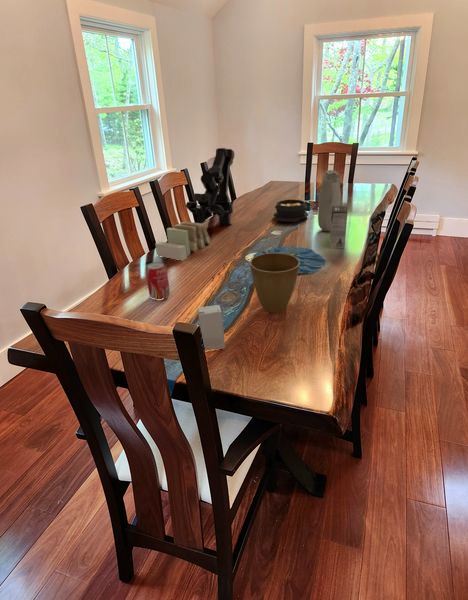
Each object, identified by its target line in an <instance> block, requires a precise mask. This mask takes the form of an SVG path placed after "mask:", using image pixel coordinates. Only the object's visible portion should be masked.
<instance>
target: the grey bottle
mask: <svg viewBox="0 0 468 600" xmlns="http://www.w3.org/2000/svg"><path fill="white" fill-rule="evenodd" d="M317 205H318V206H317V207H318V208H317V209H318V210H317V211H318V213H317V224H318V227H319V228H320V229H321V230H322V231H324V232H330V231H331V214H332V206H341V205H342V193H341V185H340V175H339V172H338V171H337V170H333V169H329V170H327V171H325V172H324V174H323V175H322V182H321V187H320V191H319V195H318V204H317Z"/></svg>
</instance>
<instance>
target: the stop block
mask: <svg viewBox="0 0 468 600" xmlns="http://www.w3.org/2000/svg"><path fill="white" fill-rule="evenodd" d="M155 251H156V256H157V255H158V256H162V257H166V258H171V259H176V260H181V261H183V260H185V259H187V260H188V256H187V255H186V246H183V245H178V244H172V243H168V242H165V241H157V242H156V243H155ZM166 258H165V259H166ZM171 259H170V260H171ZM176 260H175V261H176ZM181 261H180V262H181ZM185 261H186V260H185ZM183 262H184V261H183Z"/></svg>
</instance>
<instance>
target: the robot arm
mask: <svg viewBox="0 0 468 600" xmlns="http://www.w3.org/2000/svg"><path fill="white" fill-rule="evenodd" d="M215 149H216V150H215V155H214V160H213V162H212V166H211V167H210V168H208V169H207V170H206V171H205V172H204V173H203V174H202V175H201V176H200V182H201V183H202V185H203V188H204V189H205V191H204V193H197V192H195V193H194V196H193V201H188V202H186V204H185V207H186V209H187V210H188V211H189V212H190V213H191V214H192V213H193V214H197V217H196V218H197V222H196V223H201V224H204V223H205V222H206V221H207V220H208V219H210V218H211V217H213V213H214V214H216V215H217V216H218V221H217V225H218V226H219V227H225V226H232V223H231V220H230V219H231V218H230V214H234V213H233V212H234V209H233V205H232V203H231V200H230V197H229V195H228V193H229V192H228V191H229V180H230V179H229V178H230V177H229V176H230V168H231V166H232V164H233V162H234V159H235V151H234V150H233V149H232V148H225V147H219V148H215ZM218 184H219V185H218ZM196 202H197V204H196Z"/></svg>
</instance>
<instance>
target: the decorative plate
mask: <svg viewBox="0 0 468 600" xmlns="http://www.w3.org/2000/svg"><path fill="white" fill-rule="evenodd" d="M266 253H283V254H288V255H292V256H294V257H296V258H297V259H298V260H299V261H300V264H299V269H298V274H297V275H299V274H306V275H308V274H311V275H312V274H315V273H316V272H318V271H320V270H321V269H322V268H324V267H325V265H326V263H327V260H326V259H325V258H324V257H323V256H322V255H320V254H318V253H316V252H315V251H314V250H313V249H311V248H307V247H305V248H304V247H301V246H300V247H299V246H291V245H290V246H278V247H274V248H268V249H266V250H264V249H263V250H261V251H258V252H256V253H254V254H253V257H252V258H254V257H255V256H258V255H261V254H266Z"/></svg>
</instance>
